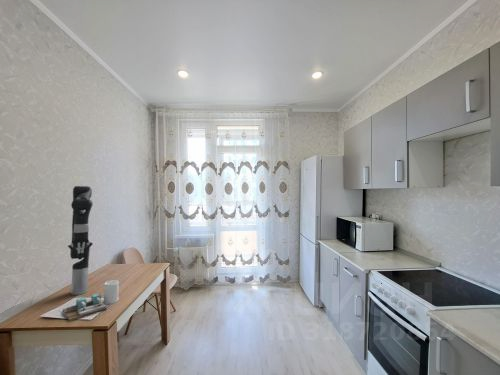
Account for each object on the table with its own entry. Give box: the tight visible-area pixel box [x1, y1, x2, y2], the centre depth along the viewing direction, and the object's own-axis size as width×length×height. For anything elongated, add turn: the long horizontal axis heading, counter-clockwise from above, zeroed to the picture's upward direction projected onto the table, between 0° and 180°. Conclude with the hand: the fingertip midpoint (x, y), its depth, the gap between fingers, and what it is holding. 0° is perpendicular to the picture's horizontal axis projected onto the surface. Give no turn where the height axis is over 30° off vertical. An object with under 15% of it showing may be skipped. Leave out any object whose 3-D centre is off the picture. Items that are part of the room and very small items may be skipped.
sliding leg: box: [75, 296, 87, 310], centre depth 138 cm, size 10×4×5 cm, turn 49°
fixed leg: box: [90, 292, 102, 305], centre depth 144 cm, size 10×4×5 cm, turn 49°
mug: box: [102, 279, 120, 305], centre depth 153 cm, size 12×8×12 cm
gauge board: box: [62, 300, 107, 323], centre depth 138 cm, size 16×18×3 cm
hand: (79, 259), depth 144 cm, fingers closed
